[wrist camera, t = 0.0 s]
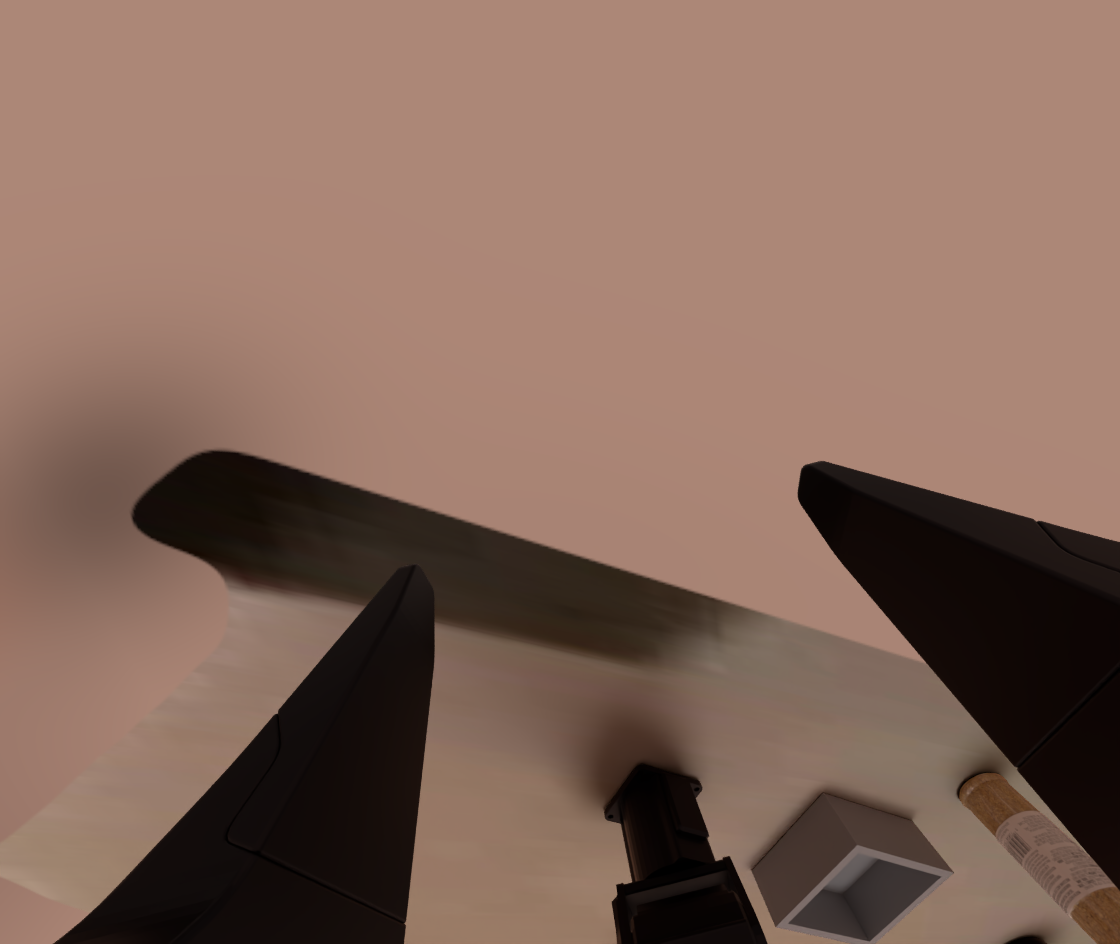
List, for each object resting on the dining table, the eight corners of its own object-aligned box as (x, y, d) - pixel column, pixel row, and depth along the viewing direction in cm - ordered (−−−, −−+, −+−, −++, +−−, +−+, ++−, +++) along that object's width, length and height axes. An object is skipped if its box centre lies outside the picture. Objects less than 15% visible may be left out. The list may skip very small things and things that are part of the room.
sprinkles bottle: (985, 804, 39) (1206, 1028, 26) (946, 801, 38) (1155, 1028, 26) (1011, 771, 38) (1257, 989, 25) (972, 766, 37) (1205, 988, 24)
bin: (839, 892, 42) (870, 947, 38) (751, 870, 39) (775, 927, 36) (912, 821, 39) (954, 872, 35) (823, 792, 37) (857, 845, 33)
